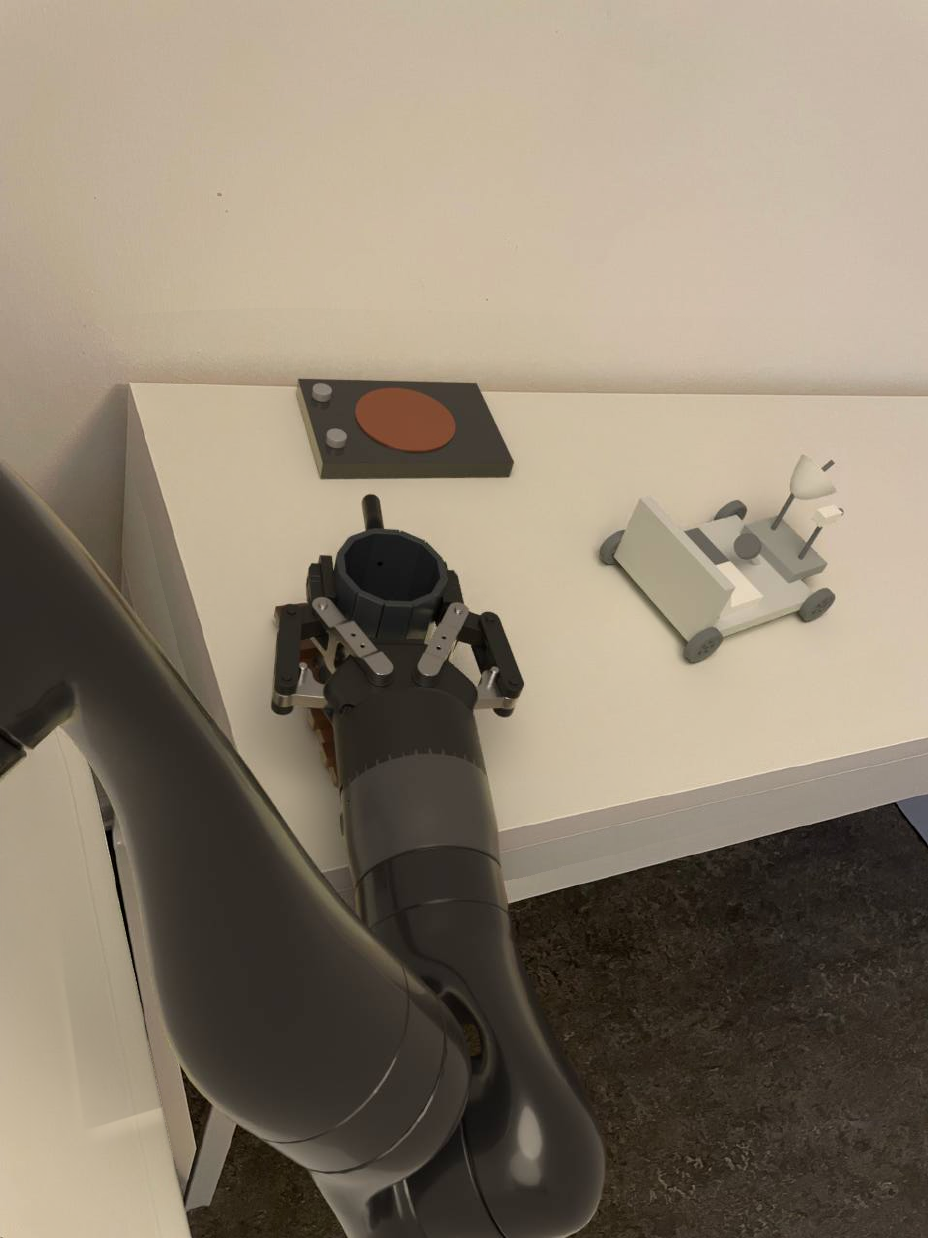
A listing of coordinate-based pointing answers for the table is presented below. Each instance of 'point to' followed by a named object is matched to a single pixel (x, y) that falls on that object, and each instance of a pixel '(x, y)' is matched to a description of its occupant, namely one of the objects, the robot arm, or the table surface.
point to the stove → (401, 429)
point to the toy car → (727, 564)
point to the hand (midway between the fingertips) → (380, 568)
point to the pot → (387, 582)
